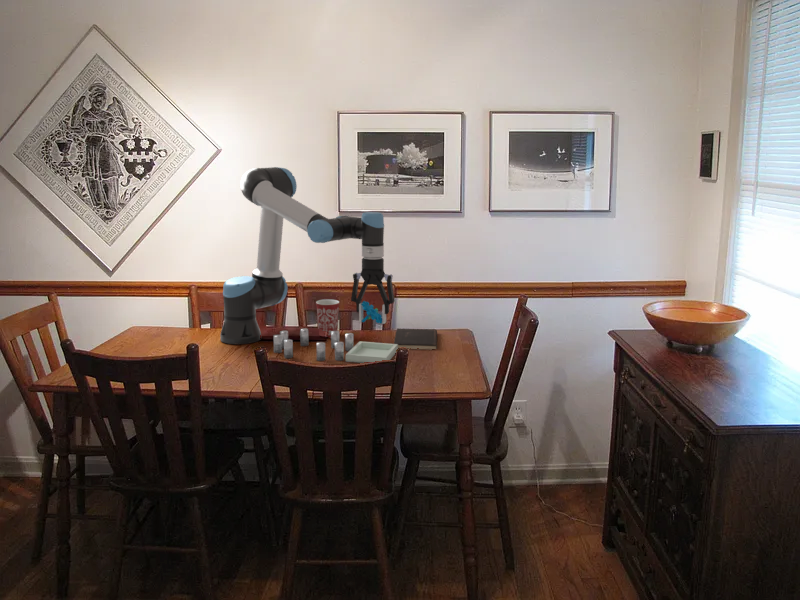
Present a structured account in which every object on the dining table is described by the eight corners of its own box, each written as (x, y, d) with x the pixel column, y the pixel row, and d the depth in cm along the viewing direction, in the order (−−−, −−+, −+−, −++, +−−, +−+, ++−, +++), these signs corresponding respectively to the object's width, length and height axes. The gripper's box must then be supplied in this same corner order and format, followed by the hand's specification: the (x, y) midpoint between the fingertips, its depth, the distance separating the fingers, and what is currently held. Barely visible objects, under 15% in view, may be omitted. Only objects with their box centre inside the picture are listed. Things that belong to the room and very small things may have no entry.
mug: (336, 339, 277) (335, 304, 274) (313, 337, 278) (312, 303, 275) (344, 331, 289) (344, 298, 286) (322, 329, 290) (322, 296, 287)
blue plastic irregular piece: (379, 322, 246) (360, 300, 247) (367, 333, 247) (348, 311, 249) (388, 319, 256) (370, 298, 258) (377, 330, 258) (359, 309, 259)
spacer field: (266, 356, 253) (266, 340, 252) (287, 342, 271) (286, 327, 270) (340, 362, 247) (340, 345, 246) (356, 347, 265) (356, 332, 264)
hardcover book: (393, 350, 265) (393, 344, 265) (396, 333, 288) (396, 328, 287) (436, 351, 264) (437, 345, 264) (436, 334, 287) (437, 329, 286)
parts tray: (345, 361, 249) (345, 354, 248) (359, 347, 265) (359, 341, 265) (386, 364, 246) (386, 357, 245) (397, 350, 262) (397, 344, 262)
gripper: (340, 257, 247) (341, 322, 251) (399, 260, 242) (398, 326, 247) (347, 254, 254) (347, 317, 258) (404, 257, 249) (403, 321, 254)
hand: (372, 321), depth 253 cm, fingers closed on blue plastic irregular piece, 8 cm apart
